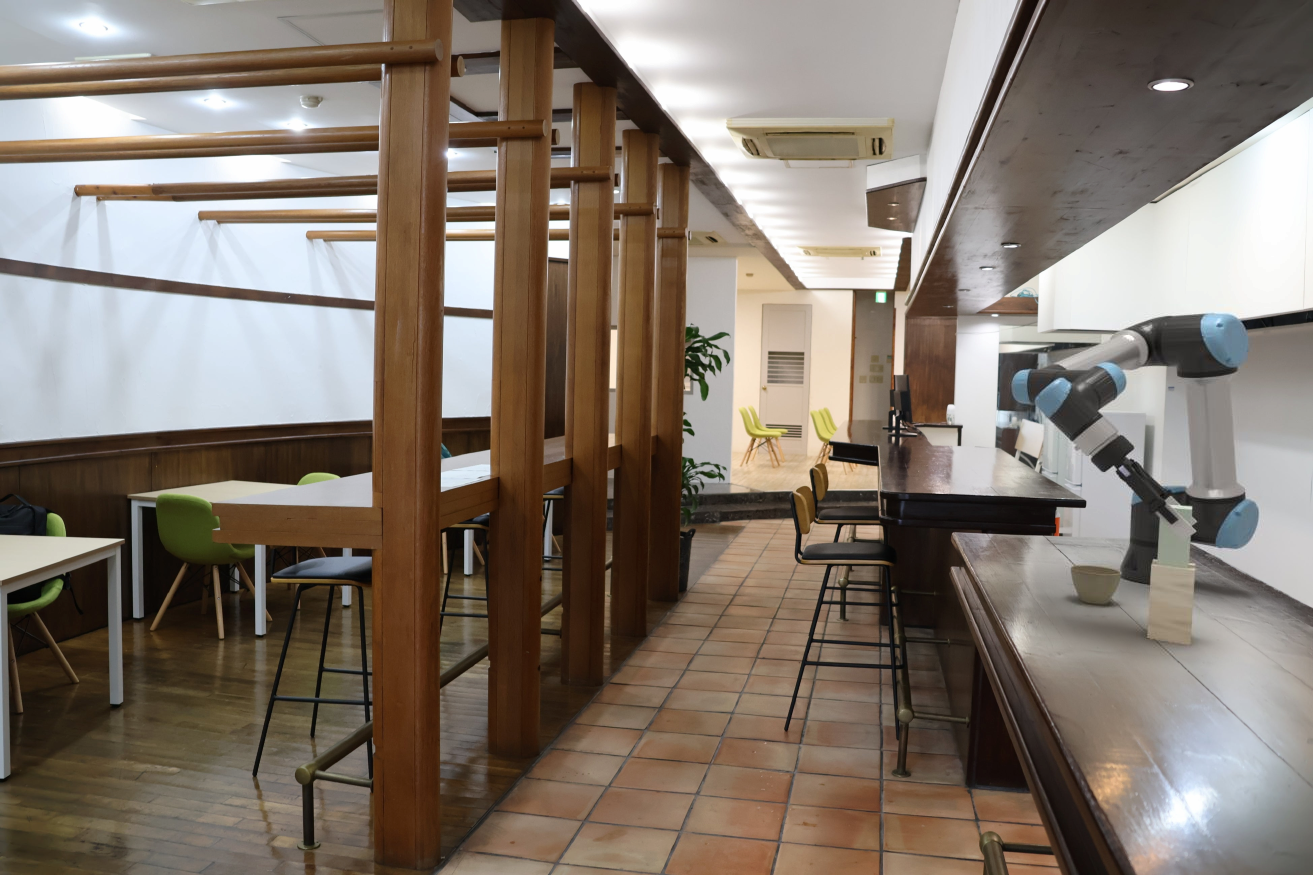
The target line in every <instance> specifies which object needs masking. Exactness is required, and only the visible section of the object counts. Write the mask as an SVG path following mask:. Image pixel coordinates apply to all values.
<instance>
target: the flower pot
mask: <svg viewBox="0 0 1313 875" xmlns="http://www.w3.org/2000/svg"><path fill="white" fill-rule="evenodd" d="M1121 574H1122V573H1121V572H1120V570H1117V569H1115V568H1110V567H1105V566H1101V565H1100V566H1099V565H1087V564H1086V565H1085V564H1084V565H1082V564H1080V565H1078V564H1077V565H1072V566H1071V567H1070V575H1071V579H1072V583H1073V586H1074V589H1075V590H1076V593H1077V596H1078V597H1079V598H1080V600H1081V601H1082V602H1084V603H1085V604H1092V605H1106V604H1108V603H1109V602H1110V600H1111V599H1112V597H1114V594H1115V593H1116V591H1117V588H1118V586H1119V584H1120V582H1121Z"/></svg>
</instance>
